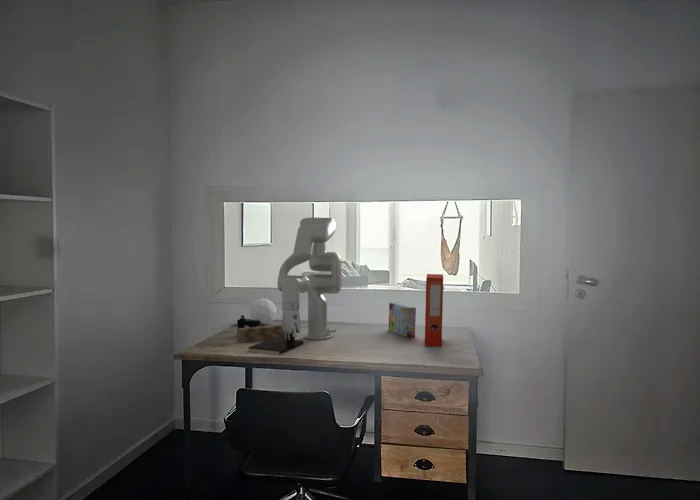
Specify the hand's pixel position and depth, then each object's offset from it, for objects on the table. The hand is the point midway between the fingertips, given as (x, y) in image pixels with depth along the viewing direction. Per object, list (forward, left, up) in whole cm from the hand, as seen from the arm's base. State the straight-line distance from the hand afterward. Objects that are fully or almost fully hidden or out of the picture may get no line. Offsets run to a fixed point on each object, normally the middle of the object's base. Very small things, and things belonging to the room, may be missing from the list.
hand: (290, 348), depth 251 cm
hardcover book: (0, -18, -4) cm, 18 cm away
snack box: (-69, -19, -3) cm, 72 cm away
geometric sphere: (-14, -75, -3) cm, 77 cm away
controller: (+3, -48, -3) cm, 49 cm away
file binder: (-71, +6, -3) cm, 72 cm away
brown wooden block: (0, -37, -3) cm, 37 cm away
